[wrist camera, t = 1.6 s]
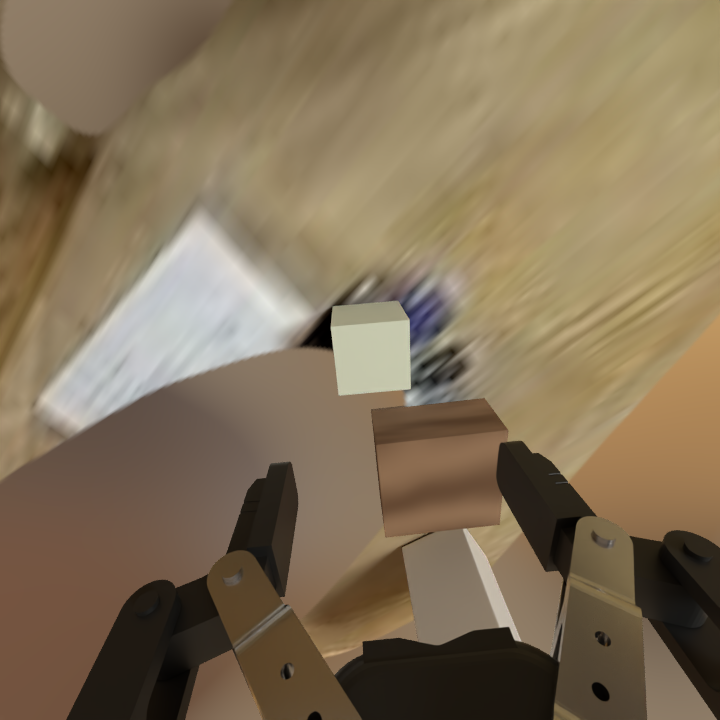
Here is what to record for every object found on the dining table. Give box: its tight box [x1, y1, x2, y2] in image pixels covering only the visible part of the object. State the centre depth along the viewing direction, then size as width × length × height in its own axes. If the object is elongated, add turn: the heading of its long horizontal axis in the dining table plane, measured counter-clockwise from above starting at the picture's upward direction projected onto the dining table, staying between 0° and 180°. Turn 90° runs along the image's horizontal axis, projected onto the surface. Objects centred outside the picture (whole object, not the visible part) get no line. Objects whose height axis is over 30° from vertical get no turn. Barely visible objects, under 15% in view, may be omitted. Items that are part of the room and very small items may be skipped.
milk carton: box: [402, 528, 521, 645], centre depth 29 cm, size 7×7×19 cm
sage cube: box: [331, 301, 411, 395], centre depth 25 cm, size 5×5×5 cm
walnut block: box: [371, 398, 508, 537], centre depth 30 cm, size 10×10×5 cm
